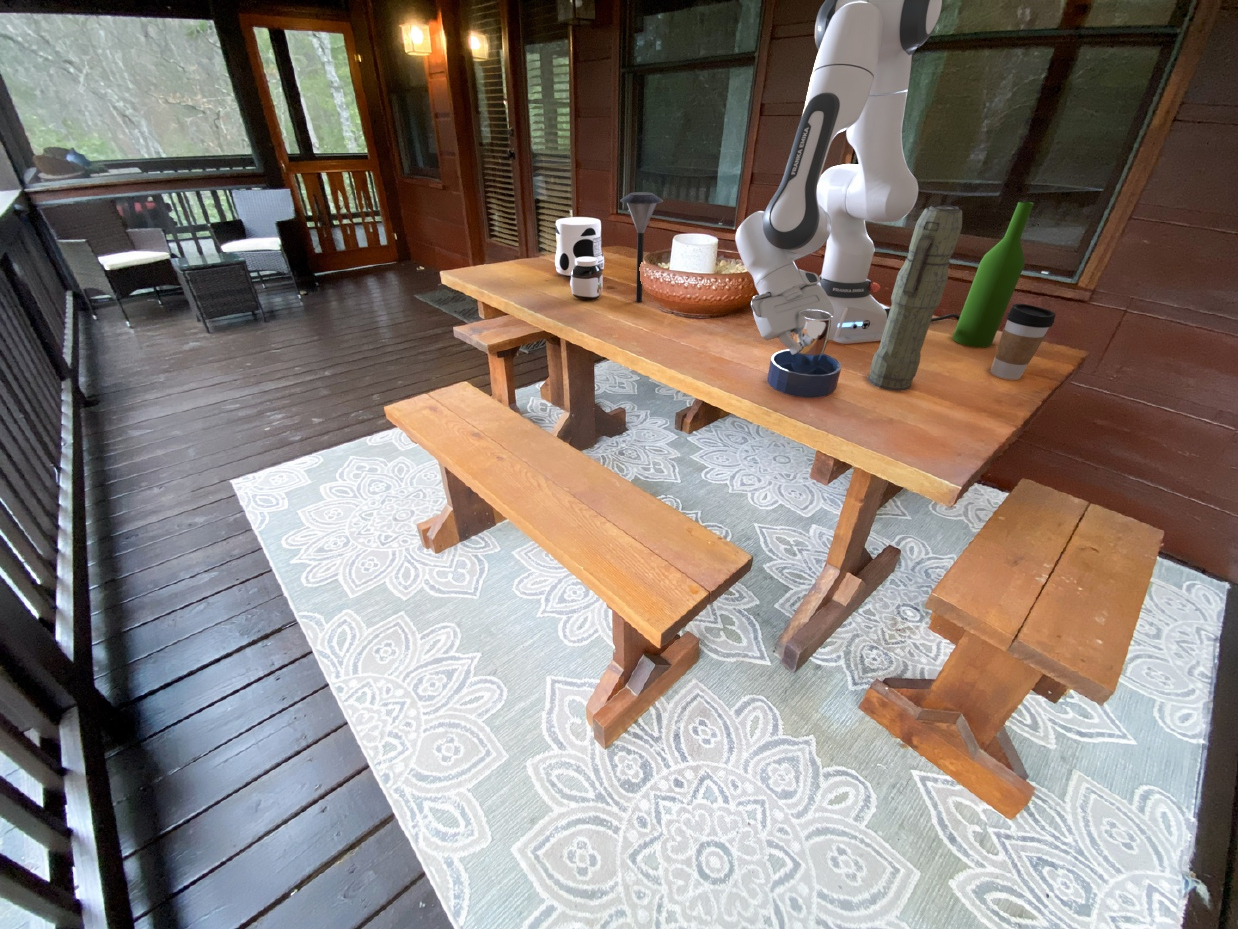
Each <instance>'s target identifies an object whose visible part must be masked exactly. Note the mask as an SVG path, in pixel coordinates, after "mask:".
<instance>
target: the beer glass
mask: <svg viewBox="0 0 1238 929" xmlns="http://www.w3.org/2000/svg"><path fill="white" fill-rule="evenodd" d="M802 313H806V314H809V315H810V316H812V317H813V318H814V319H809V318H806V317H803V316H801V315H800V314H802ZM831 321H832V315H831V314H829V313H827V312H824V311H820V310H802V311H800V312H799V313H798V317H797V328H795V329H794V332H792V333H793V334H792V337H791V338H792V339H793V340H794V341H795V342H796V343H798V342H799V343H800V346H801V347H802V351H800V352H799V353H796V354H794V355H792V363H791V368H790V371H792V372H796V373H800V374H808V375H816V371H817V367H818V364H819V362H820V359H821V357H822V355H823V353H824V352H825V351H826V348H827V346H828V342H829V341H828V338H829V333H830V328H831ZM824 354H825V353H824Z"/></svg>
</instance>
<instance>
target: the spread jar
mask: <svg viewBox="0 0 1238 929" xmlns="http://www.w3.org/2000/svg"><path fill="white" fill-rule="evenodd" d="M575 264H576V266H575V267H574V269H573V271H572V274H571V278H570V280H569V285H570V288H571V294H572V296H573V297H574V298H576V299H577V300H579V301H583V302H591V301H596V300H598V299H599V298H600V297H601V295H602V293H603V287H604V286H603V285H604V281H603V280H604V278H603V271H602V270H601V268H600V267H599V266H598V265H597V264H598V259H597V258H595V257H578V258H576V259H575Z"/></svg>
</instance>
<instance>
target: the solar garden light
mask: <svg viewBox="0 0 1238 929" xmlns="http://www.w3.org/2000/svg"><path fill="white" fill-rule="evenodd" d="M619 201H620V202H621V203H624V204H626V205H627V207H628V211H629V213H630V216H631V219H632V221H633V225H634V227H635V229H636V232H637V242H636V244H637V245H636V283H635V284H636V287H635V289H636V291H635V302H636V303H642V302H643V283H642V284H641V281H640V271H639V267H640V264H641V262H643V263H644V245H645V244H644V243H645V242H644V241H645V240H644V239H645V231H646V229H647V226H648V224H649V222H650V221H651V220H650V219H651V217H652V215H653V212H654V210H655V209H656V206H657V204H660V203H663V202H664V200H663V199H662V198H660V197H659V196H658V195H656V194H655V193H653V192H647V191H646V192H645V191H634V192H630V193H629V194H627V195H626V196H624V197H623V198H621V199H619Z"/></svg>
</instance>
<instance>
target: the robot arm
mask: <svg viewBox="0 0 1238 929" xmlns="http://www.w3.org/2000/svg"><path fill="white" fill-rule="evenodd" d="M942 6H943V0H825V1H824V2H823V3H822V5H821V6H820V8H819V10H818V12H817V15H816V19H815V25H814V43H815V47H816V49H817V51H818V52H817V55H816V58H815V61H814V65H813V69H812V73H811V76H810V81H809V85H808V89H807V94H806V98H805V102H804V108H803V111H802V115H801V118H800V121H799V124H798V127H797V130H796V134H795V136H794V141H793V143H792V146H791V150H790V153H789V157H788V159H787V163H786V166H785V169H784V173H783V177H782V179H781V182H780V184H779V186H778V188H777V190H775V191H776V192H775V193H774V194H773V196H772V197H771V199H770V200H769V202H768V204H767V206H766V209H765V210H764V211H763V210H757V211H755V212H753V213H751V214H750V215H748V216H747V217H746V218H745V219H744V220H743V221H742V222H741V223H740V224H739V226H738V228H737V229H736V232H735V236H734V237H735V238H734V239H735V240H734V241H735V245H736V248H737V251H738V254H739V256H740V258H741V262H742V263H743V265H744V267H745V269H746V271H747V272H748V273H749V275H751V277H752V280H753V283H754V287H755V289H756V291H757V293H758V294H756V295H754V296H753V297H752V299H751V302H750V307H751V309H752V314H753V318H754V321H755V324H756V327H757V330H758V332H759V334H760V336H761V337H762V339H764V340H765V341H771V340H774V339H776V338H778V339H779V341H780V343H781V344H783V345H784V346H785V347H786V348H787V349H788V350H790V352H791V354H792V355H794V354H796V353H799V352H800V351H802V347H801V346H800V343H799V342H798V343H796V342H795V341H794V340H793V339H792V338H793V334H792V333H793V332H794V329H795V328H797V317H798V313H799V312H800V311H802V310H820V311H824V312H827V313H829V314H831V315H832V321H831V328H830V333H829V338H828V342H829V341H832V342H835V343H838V344H841V345H847V344H858V343H859V344H860V343H870V342H871V343H872V342H881V340H882V336H883V333H884V329H885V326H886V322H887V319H888V316H889V312H890V309H891V307H889V306H887V305H884V304H883V303H880V302H878V300H877V299H875V298H874V297H873V295H872V294H871V292H873V293H877V292H878V291H880V289H881V285H880V284H879V283H877V282H875V281H871V280H870V279H869V278H868V277H869V273H870V269H871V266H872V261H873V258H874V254H875V245H874V242H873V240H872V239H871V237H869V235H868V232H867V228H866V221H867V222H872V223H877V224H881V223H896V222H899V221H901V220H903V219H904V218H905V217H906V216H908V215H909V214H910V212H911V211H912V210H913V208H914V207H915V204H916V203H917V200H918V195H919V184H918V181H917V178H916V177H915V176H914V175H913V174H912V172H911V170H910V169H909V167H908V164H907V162H906V158H905V154H904V149H903V138H902V135H903V134H902V133H903V125H904V124H903V123H904V117H905V110H906V102H907V97H908V90H909V87H910V86H909V85H910V79H911V71H912V70H911V69H912V57H913V54H914V53H915V51H916V50H917V48H920V47H921V46H923V45H924V44H925V42H926V41H927V40H929V38H930V37H931V35H932V34H933V32H934V30H935V28H936V25H937V22H938V20H939V18H940V14H941V10H942ZM844 131H846V132H845V133H846V134H845V135H846V136H845V137H846V140H847V143H848V144H849V145H850V146H851V147H852V148H853V149H854V152H855V154H856V158H857V162H858V164H853V163H846V164H840V165H835V166H831V167H829V168H827V169H826V170H824V166H825V162H826V160H827V157H828V153H829V150H830V147H831V145H832V142H833V140H834V138H835V137H836V136H837V135H838V134H839V133H842V132H844ZM823 170H824V171H823ZM822 172H823V173H822ZM825 244H826V245H825ZM824 245H825V246H826V247H825V253H824V259H823V264H822V269H821V274H820V275H818V274H817V273H815V272H810V271H806V270H803V269H801V268H798V267H797V265H796V263H795V261H797V260H800V259H802V258H804V257H806V256H809V255H810V254H813V253H815V252H817V251H819V250H820V249H821V248H822V247H823V246H824ZM800 315H801V316H803V317H806V318H809V319H814V318H813V317H812V316H810V315H809V314H806V313H802V314H800ZM960 316H961V315H959V314H957V313H950V314H946V315H943V316H938V317H937V316H936V317H932V319H931V322H930V323H933V322H939V321H944V320H947V319H950V318H955V319H956V320H957V321H959V318H960Z"/></svg>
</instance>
